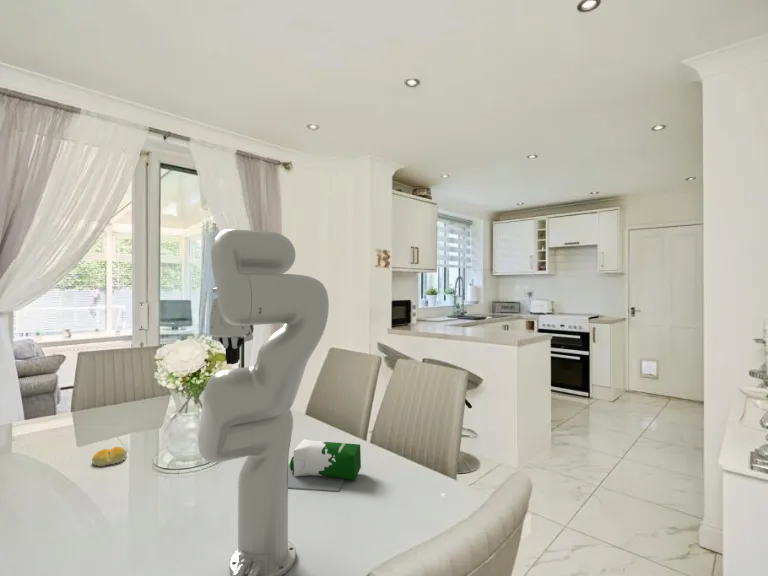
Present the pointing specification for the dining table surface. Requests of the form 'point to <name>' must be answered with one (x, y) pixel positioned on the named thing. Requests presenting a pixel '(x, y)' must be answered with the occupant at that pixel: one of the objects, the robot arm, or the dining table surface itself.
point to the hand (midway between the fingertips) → (232, 363)
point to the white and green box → (326, 459)
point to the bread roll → (109, 456)
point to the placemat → (313, 482)
